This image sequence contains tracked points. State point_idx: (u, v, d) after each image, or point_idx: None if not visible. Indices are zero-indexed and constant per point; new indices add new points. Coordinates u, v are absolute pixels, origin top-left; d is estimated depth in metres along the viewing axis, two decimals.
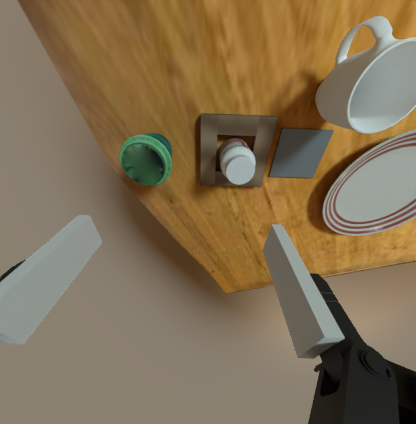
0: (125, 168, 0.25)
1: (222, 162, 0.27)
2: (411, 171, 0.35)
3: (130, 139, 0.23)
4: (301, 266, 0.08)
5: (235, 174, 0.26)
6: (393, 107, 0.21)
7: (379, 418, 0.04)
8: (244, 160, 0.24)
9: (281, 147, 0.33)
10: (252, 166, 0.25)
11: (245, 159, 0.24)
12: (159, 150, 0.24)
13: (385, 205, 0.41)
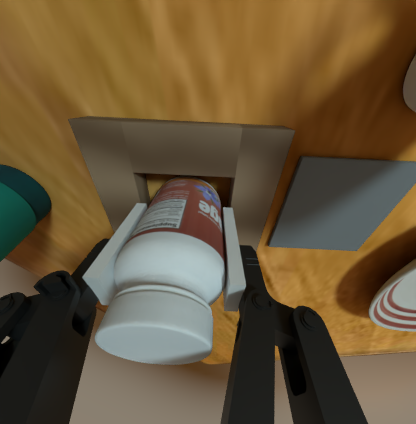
0: None
1: (114, 278, 0.08)
2: None
3: None
4: (234, 238, 0.10)
5: (140, 352, 0.07)
6: None
7: (263, 339, 0.06)
8: (159, 332, 0.05)
9: (296, 197, 0.14)
10: (198, 342, 0.06)
11: (162, 331, 0.05)
12: None
13: None
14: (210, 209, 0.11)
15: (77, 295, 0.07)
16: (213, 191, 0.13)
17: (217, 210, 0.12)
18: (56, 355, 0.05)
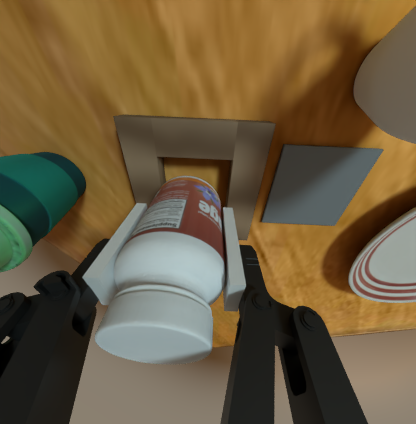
0: None
1: (114, 278, 0.08)
2: None
3: None
4: (234, 237, 0.10)
5: (140, 352, 0.07)
6: None
7: (263, 339, 0.06)
8: (158, 332, 0.05)
9: (282, 178, 0.18)
10: (198, 342, 0.06)
11: (162, 331, 0.05)
12: None
13: None
14: (210, 209, 0.11)
15: (77, 295, 0.07)
16: (213, 191, 0.13)
17: (217, 210, 0.12)
18: (56, 355, 0.05)
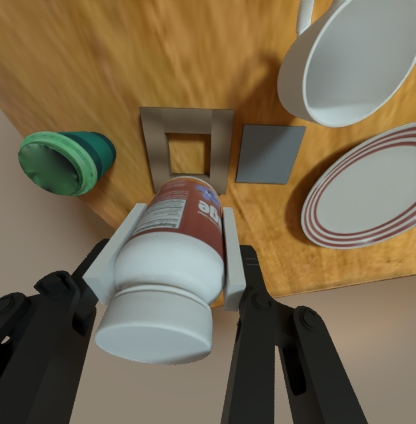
0: (28, 175, 0.19)
1: (114, 278, 0.08)
2: (403, 175, 0.29)
3: (28, 137, 0.18)
4: (234, 237, 0.10)
5: (139, 352, 0.07)
6: (369, 92, 0.16)
7: (263, 339, 0.06)
8: (158, 332, 0.05)
9: (245, 147, 0.28)
10: (198, 342, 0.06)
11: (162, 331, 0.05)
12: (68, 151, 0.18)
13: (375, 215, 0.35)
14: (210, 209, 0.11)
15: (77, 295, 0.07)
16: (213, 191, 0.13)
17: (217, 210, 0.12)
18: (56, 355, 0.05)
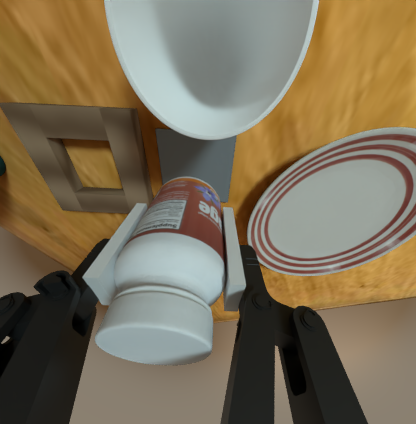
0: None
1: (114, 279, 0.08)
2: (368, 195, 0.24)
3: None
4: (234, 237, 0.10)
5: (140, 353, 0.07)
6: (268, 82, 0.09)
7: (263, 339, 0.06)
8: (158, 333, 0.05)
9: (165, 158, 0.21)
10: (198, 343, 0.06)
11: (163, 332, 0.05)
12: None
13: (340, 238, 0.29)
14: (210, 210, 0.11)
15: (77, 295, 0.07)
16: (213, 192, 0.13)
17: (217, 211, 0.12)
18: (56, 355, 0.05)
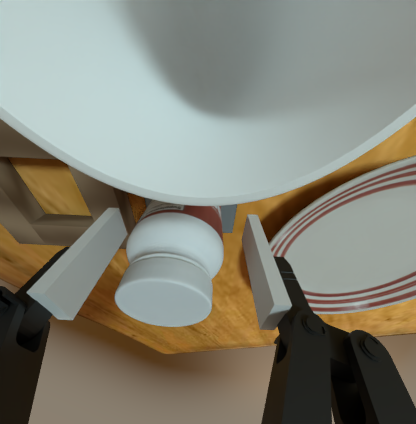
0: None
1: (127, 254, 0.10)
2: None
3: None
4: (266, 249, 0.09)
5: (151, 311, 0.08)
6: (351, 62, 0.04)
7: (316, 369, 0.05)
8: (168, 288, 0.07)
9: None
10: (200, 299, 0.07)
11: (172, 286, 0.07)
12: None
13: (371, 273, 0.23)
14: None
15: (21, 310, 0.07)
16: None
17: None
18: None
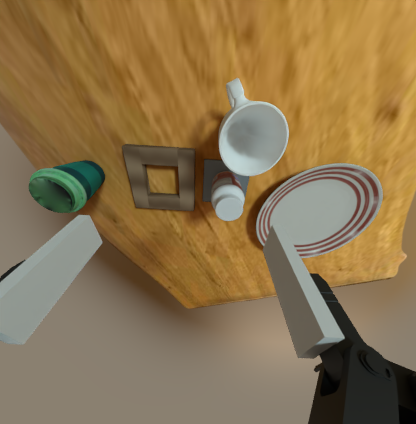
0: (35, 198, 0.26)
1: (212, 198, 0.29)
2: (334, 201, 0.37)
3: (37, 172, 0.25)
4: (301, 266, 0.08)
5: (224, 212, 0.27)
6: (271, 153, 0.23)
7: (379, 418, 0.04)
8: (233, 201, 0.26)
9: (207, 176, 0.35)
10: (240, 206, 0.26)
11: (234, 200, 0.26)
12: (65, 182, 0.25)
13: (319, 230, 0.42)
14: (238, 181, 0.31)
15: None
16: (237, 177, 0.34)
17: None
18: None
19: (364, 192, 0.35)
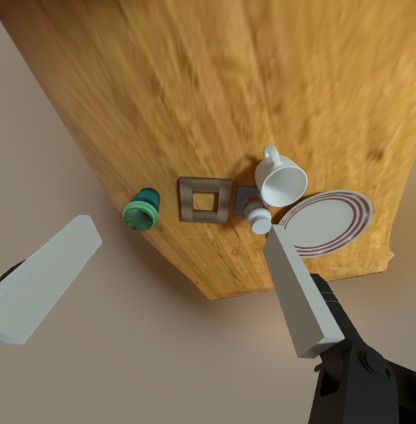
0: (126, 221, 0.37)
1: (248, 218, 0.40)
2: (336, 214, 0.48)
3: (130, 204, 0.36)
4: (301, 266, 0.08)
5: (258, 228, 0.38)
6: (294, 190, 0.34)
7: (379, 418, 0.04)
8: (265, 221, 0.37)
9: (239, 197, 0.46)
10: (270, 224, 0.37)
11: (266, 221, 0.37)
12: (148, 210, 0.36)
13: (323, 236, 0.53)
14: (265, 204, 0.42)
15: None
16: (262, 199, 0.45)
17: (265, 204, 0.43)
18: None
19: (359, 208, 0.46)
